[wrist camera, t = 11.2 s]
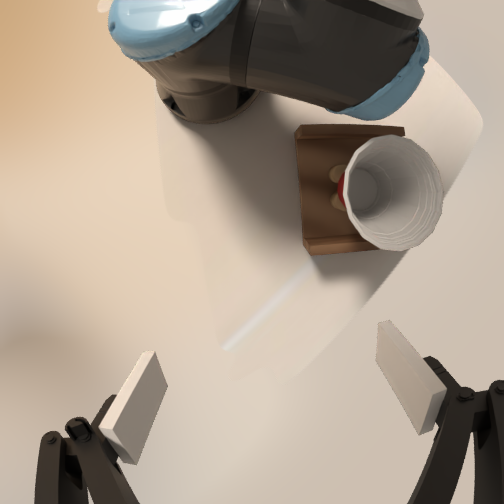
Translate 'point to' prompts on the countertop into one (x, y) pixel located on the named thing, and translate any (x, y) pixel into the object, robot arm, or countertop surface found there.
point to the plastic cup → (392, 192)
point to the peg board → (330, 183)
